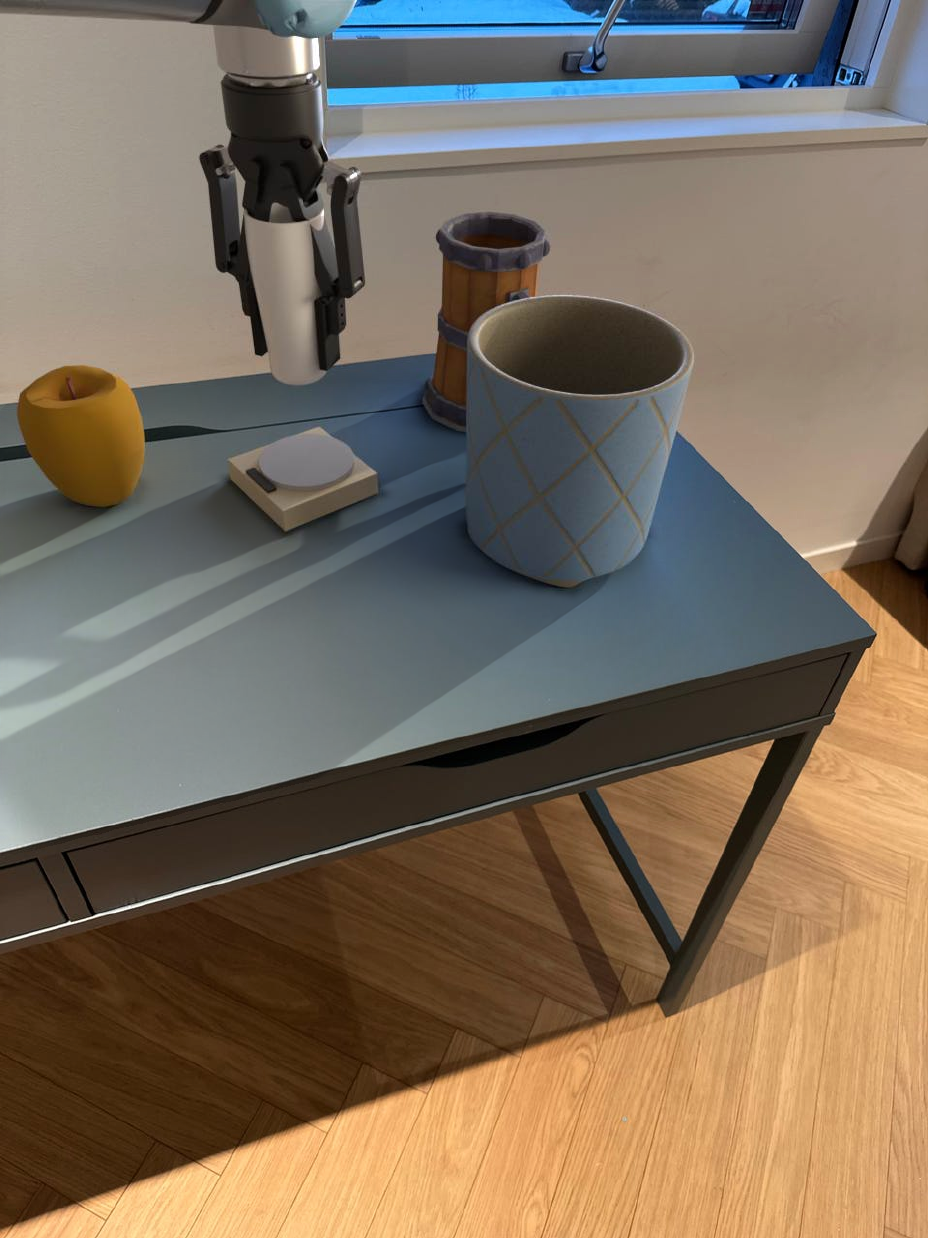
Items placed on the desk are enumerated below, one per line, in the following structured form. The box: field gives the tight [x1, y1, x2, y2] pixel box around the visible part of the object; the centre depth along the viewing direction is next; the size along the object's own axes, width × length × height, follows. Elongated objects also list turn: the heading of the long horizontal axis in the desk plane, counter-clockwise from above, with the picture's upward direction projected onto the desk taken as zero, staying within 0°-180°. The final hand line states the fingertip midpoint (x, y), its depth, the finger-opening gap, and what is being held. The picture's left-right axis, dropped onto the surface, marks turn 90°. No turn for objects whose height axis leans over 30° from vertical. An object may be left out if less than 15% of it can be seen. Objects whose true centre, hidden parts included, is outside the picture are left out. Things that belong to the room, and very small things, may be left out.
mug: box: [421, 211, 551, 433], centre depth 99 cm, size 19×14×20 cm
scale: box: [227, 426, 379, 532], centre depth 93 cm, size 11×11×3 cm
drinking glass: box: [243, 202, 328, 386], centre depth 80 cm, size 7×7×15 cm
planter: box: [465, 294, 695, 589], centre depth 83 cm, size 19×19×20 cm
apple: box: [16, 364, 146, 508], centre depth 87 cm, size 11×11×13 cm
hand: (297, 356), depth 84 cm, fingers closed on drinking glass, 6 cm apart
